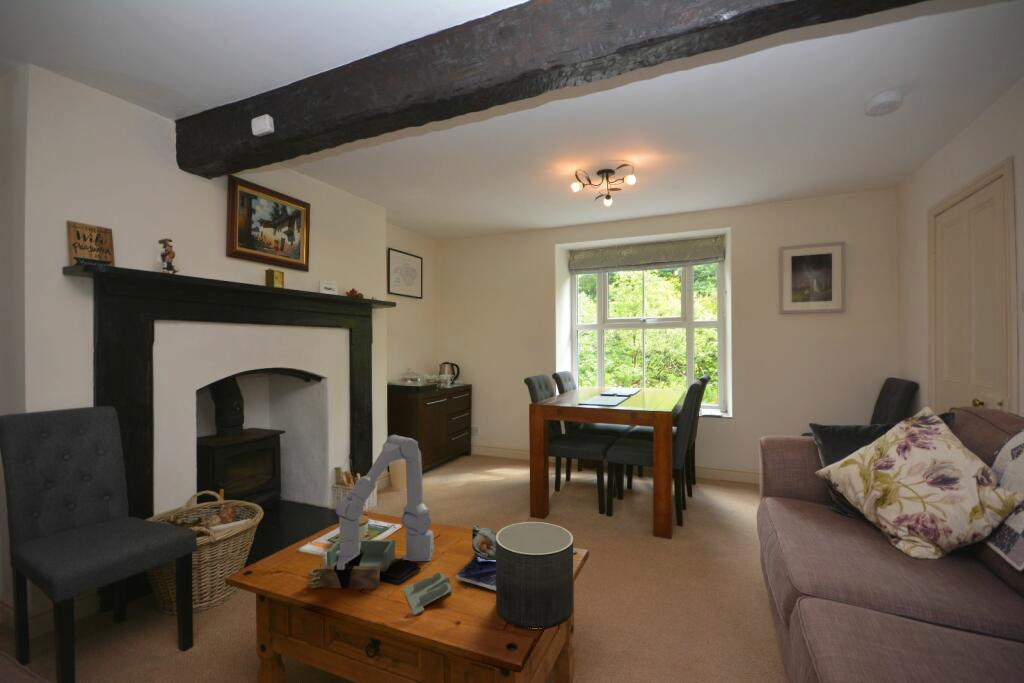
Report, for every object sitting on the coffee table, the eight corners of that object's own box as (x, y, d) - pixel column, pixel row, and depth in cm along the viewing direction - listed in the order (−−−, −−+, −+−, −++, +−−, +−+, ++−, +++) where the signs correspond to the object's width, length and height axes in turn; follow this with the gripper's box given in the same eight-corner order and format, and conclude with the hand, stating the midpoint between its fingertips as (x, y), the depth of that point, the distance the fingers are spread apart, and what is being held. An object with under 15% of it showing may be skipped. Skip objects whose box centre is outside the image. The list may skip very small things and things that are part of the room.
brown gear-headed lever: (380, 583, 146) (380, 564, 146) (376, 591, 142) (376, 571, 142) (313, 582, 147) (313, 563, 147) (306, 590, 143) (306, 570, 143)
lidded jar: (333, 544, 174) (333, 519, 174) (348, 533, 184) (348, 509, 184) (360, 546, 172) (360, 521, 172) (373, 534, 183) (373, 511, 183)
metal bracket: (441, 563, 148) (455, 585, 134) (446, 579, 149) (461, 604, 135) (397, 585, 142) (408, 611, 128) (402, 602, 143) (414, 630, 129)
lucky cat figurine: (519, 561, 160) (510, 533, 154) (489, 582, 156) (478, 554, 150) (498, 534, 173) (489, 507, 166) (470, 552, 168) (459, 525, 162)
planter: (551, 641, 118) (551, 562, 118) (480, 614, 130) (480, 542, 130) (585, 600, 137) (585, 531, 137) (521, 579, 148) (521, 516, 148)
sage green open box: (395, 558, 163) (395, 540, 163) (383, 577, 150) (383, 557, 150) (338, 557, 163) (338, 539, 163) (322, 576, 150) (322, 556, 150)
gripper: (345, 528, 152) (345, 569, 152) (326, 548, 137) (326, 594, 137) (367, 528, 152) (367, 570, 152) (350, 548, 137) (350, 594, 137)
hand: (349, 581), depth 144 cm, fingers open, 7 cm apart
